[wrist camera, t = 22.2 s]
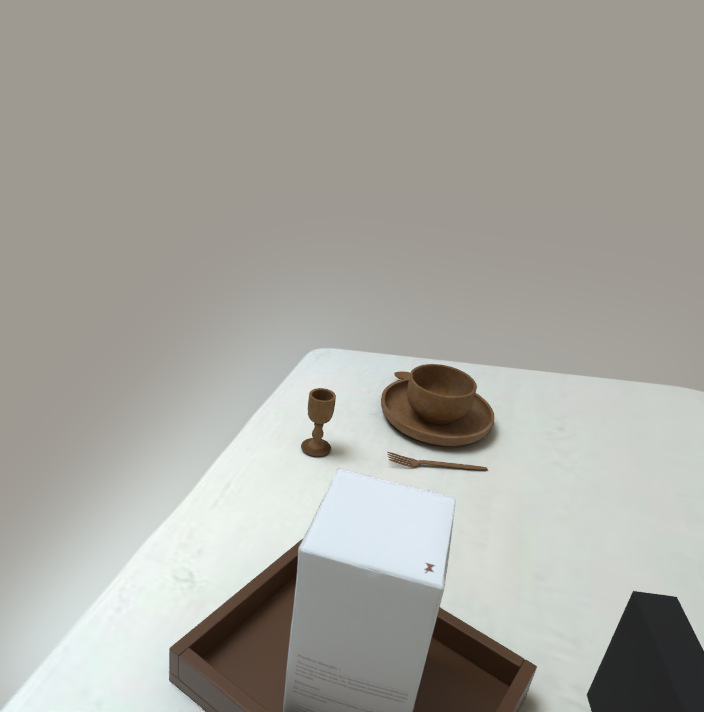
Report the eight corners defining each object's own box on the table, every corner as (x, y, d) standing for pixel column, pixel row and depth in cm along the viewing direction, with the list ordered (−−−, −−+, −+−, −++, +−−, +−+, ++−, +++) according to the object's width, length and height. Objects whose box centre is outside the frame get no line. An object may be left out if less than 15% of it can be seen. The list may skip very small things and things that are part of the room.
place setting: (510, 475, 63) (526, 423, 60) (300, 459, 61) (306, 404, 58) (472, 384, 79) (483, 339, 76) (304, 369, 77) (309, 322, 74)
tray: (168, 679, 40) (169, 648, 39) (309, 558, 50) (312, 529, 49) (420, 893, 32) (431, 862, 30) (526, 695, 42) (537, 665, 41)
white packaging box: (422, 649, 43) (462, 496, 38) (402, 756, 37) (446, 590, 31) (315, 616, 44) (337, 463, 39) (276, 714, 38) (296, 548, 32)
